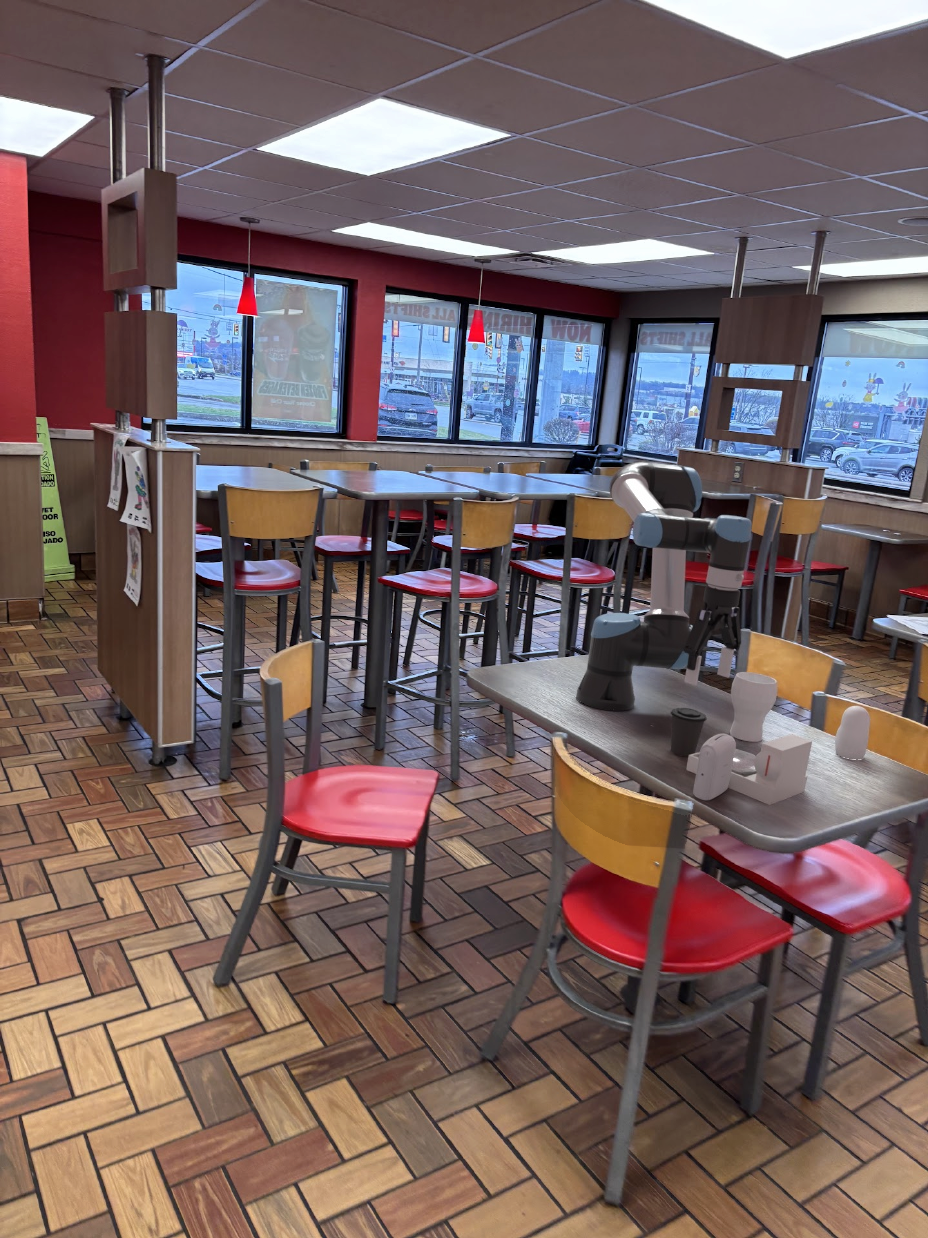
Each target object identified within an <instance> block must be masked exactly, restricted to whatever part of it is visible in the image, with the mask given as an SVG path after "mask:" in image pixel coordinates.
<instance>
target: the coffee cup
mask: <svg viewBox="0 0 928 1238" xmlns="http://www.w3.org/2000/svg"><path fill="white" fill-rule="evenodd" d="M670 715H671V731H670V733H671V735H670V737H671V738H670V752H671V753H673V754H674V755H676V756H679V757H686V758H687V757H689V755H691V754H694V753H696V751H697V746H698V743H699V739H700V736H701V734H702V731H703V726H704V723H705V722H706V721H707V719H708V718H707V715H706V714H704V713H703V712H702V711H699V710H697V709H694V708H689V707H681V708H673V709H672V710H671V711H670Z"/></svg>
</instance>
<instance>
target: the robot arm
mask: <svg viewBox="0 0 928 1238" xmlns="http://www.w3.org/2000/svg"><path fill="white" fill-rule="evenodd" d="M702 485H703V482H702V479H701V476H700V474H699V473H698V471H697V470H696V469H694V468H693V467H689V466H683V465H680V464H677V465H674V464H673V465H672V464H666V463H663V464H662V463H655V462H647V461H646V462H645V461H636V462H631V463H629V464H626V465H624V466H622V467H620V468H619V469H618V470H616V472H615V473H614V474H613V475H612V477H611V479H610V482H609V494H610V495H609V496H610V497H611V499H612V500H613V502H614V503H615V505H616V506H618V507H620V508H622V509H624V510H625V512H626V513H627V515H628V517H630V519H631V520H632V522H633V524H632V525H633V526H632V538H633V539H632V540H633V542H634V543H635V545H637V546H640V547H646V548H649V549H652V558H651V581H650V584H651V585H650V605H649V610H648V611H647V612H646V613H645V614H644V615H643V621H642V620H641V618H640V616H639V615H637V614H633V613H626V612H611V613H610V612H609V613H604V614H601V615H599V616H597V617H596V618H594V621H593V624H592V629H591V632H590V636H591V637H590V642H589V643H590V644H589V653H588V658H587V659H588V660H587V666H586V671H585V673H584V675H583V677H582V679H581V680H580V681H581V682H580V683H579V686H578V687H577V689H576V700H577V699H578V700H579V701H581V702H582V703H581V702H580V703H581V704H583V703H584V704H583V705H585V706H587V705H588V707H591V708H595V709H598V710H604V711H611V712H612V711H613V712H615V711H618V712H621V711H624V712H625V711H629V710H632V709H633V708H634V707H635V703H636V700H635V699H636V696H635V694H634V692H635V691H634V685H633V680H632V677H633V668H634V667H644V668H645V667H646V668H659V669H666V670H673V669H674V670H682V669H685V668H686V671H685V676H684V683H686V684H690V685H692V686H698V682H699V675H700V669H701V665H702V664H701V662H702V655H701V653H702V651H703V650H704V648H705V646H706V645H707V644H708V641H709V640H710V638H711V636H712V635H713V633H716V632H717V630H718V631H719V632H720V635H721V639H722V642H723V645H724V646H721V650H720V656H719V657H720V658H719V661H718V667H717V674H716V675H719V676H722V677H725V678H730V675H731V669H732V663H733V659H734V654H735V650H736V651H738V650H739V649H740V648H741V645H742V636H741V634H742V633H741V625H740V624H741V623H740V622H741V621H740V611H741V608H740V607H738V606H739V603H740V602H739V601H740V596H741V591H740V589H741V588H742V584H743V580H744V578H745V577H744V574H745V573H744V572H745V567H746V563H747V557H748V552H749V546H750V541H751V538H752V525H753V523H752V520H751V519H750V518H748V517H743V516H737V515H729V514H721V515H719V516H718V517H716V518H715V517H714V518H712V517H705V518H699V517H694V513H695V512H696V511H698V510H699V508H700V506H701V504H702V498H703V486H702ZM687 551H688V552H697V553H707V554H708V553H709V554H710V556H709V563H708V568H707V569H708V570H707V573H706V574H707V576H706V579H705V583H706V584H707V585H706V586H705V587H704V594H703V602H704V603H705V604H707V607H706V609H704V610H703V609H698V610H697V613H696V617H695V620H694V623H693V625H692V624H690V616H689V615H688V614H687V613H686V612H685V610H684V609H685V608H684V607H685V583H686V560H687V559H686V558H687V557H686V556H687ZM578 700H577V701H578ZM579 701H578V702H579Z"/></svg>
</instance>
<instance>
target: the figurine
mask: <svg viewBox="0 0 928 1238" xmlns="http://www.w3.org/2000/svg"><path fill="white" fill-rule="evenodd" d="M870 726H871V716H870V714H869V712H868V711H867V709H866V708H864V707H862V706H860V705H853V706H849V707H848V708H846V709H845V711H844V712H843V713H842V717H841V721H840V726H839V727H838V729H837V731H836V734H835V739H834V740H835V741H834V743H835V744H834V747H835V748H834V749H835V750H834V751H835V754H836V755H837V754H838V755H839V756H838V755H837V756H838V757H840V756H842V757H845V758H849V759H856V760H858V759H862V760H863V759H864V757H865V755H866V751H867V748H868V743H869V735H870V734H869V733H870V728H871V727H870ZM842 757H841V758H842ZM845 758H844V759H845Z"/></svg>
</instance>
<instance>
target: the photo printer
mask: <svg viewBox="0 0 928 1238" xmlns="http://www.w3.org/2000/svg"><path fill="white" fill-rule="evenodd" d="M736 746H737V743H736V740H735V737H733V736H731V735H730V734H727V733H717V734H715V735H713V736H712V737H710V738H708V739H707V740H706V741H705V742H704V743H703V744H702V746H701V747H700V750H699V752H700V754H699V760H698V766H697V772H696V774H695V780H694V785H693V790H692V795H693V796H694V797H696V798H697V799H699V800H702V801H712V800H713V799H715V798H717V797H718V796H720V795H721V794H723V793H725V792H726V791H727V790H728V789H729V788H728V786H729V782H730V776H731V771H732V765H733V759H734V754H735V749H737V747H736Z"/></svg>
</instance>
